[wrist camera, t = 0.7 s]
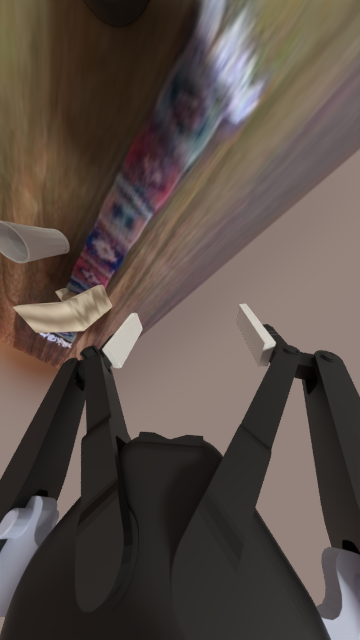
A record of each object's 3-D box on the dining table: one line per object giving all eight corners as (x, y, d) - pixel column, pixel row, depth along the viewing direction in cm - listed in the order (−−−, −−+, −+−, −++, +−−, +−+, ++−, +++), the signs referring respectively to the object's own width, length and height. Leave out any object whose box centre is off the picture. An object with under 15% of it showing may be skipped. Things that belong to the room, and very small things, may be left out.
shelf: (62, 288, 46) (13, 307, 33) (102, 284, 44) (65, 303, 31) (75, 309, 50) (36, 332, 38) (112, 306, 48) (83, 330, 36)
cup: (72, 261, 40) (32, 269, 30) (45, 248, 39) (-7, 252, 29) (72, 234, 36) (26, 233, 26) (42, 219, 35) (-19, 211, 25)
